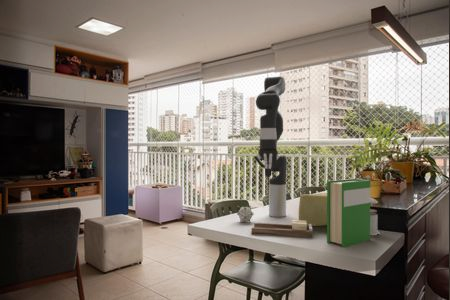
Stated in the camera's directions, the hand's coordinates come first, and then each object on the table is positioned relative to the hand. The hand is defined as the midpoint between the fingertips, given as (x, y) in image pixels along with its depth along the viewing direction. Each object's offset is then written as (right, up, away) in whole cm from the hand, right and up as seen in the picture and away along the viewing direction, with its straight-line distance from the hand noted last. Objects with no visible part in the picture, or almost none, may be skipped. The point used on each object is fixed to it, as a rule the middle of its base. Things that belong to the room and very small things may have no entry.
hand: (268, 176), depth 142 cm
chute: (+5, -24, -5) cm, 25 cm away
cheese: (+26, -24, +10) cm, 37 cm away
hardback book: (+30, -24, -17) cm, 42 cm away
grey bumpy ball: (-9, -24, +16) cm, 30 cm away
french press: (+43, -24, -3) cm, 49 cm away
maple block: (+12, -23, -6) cm, 27 cm away
